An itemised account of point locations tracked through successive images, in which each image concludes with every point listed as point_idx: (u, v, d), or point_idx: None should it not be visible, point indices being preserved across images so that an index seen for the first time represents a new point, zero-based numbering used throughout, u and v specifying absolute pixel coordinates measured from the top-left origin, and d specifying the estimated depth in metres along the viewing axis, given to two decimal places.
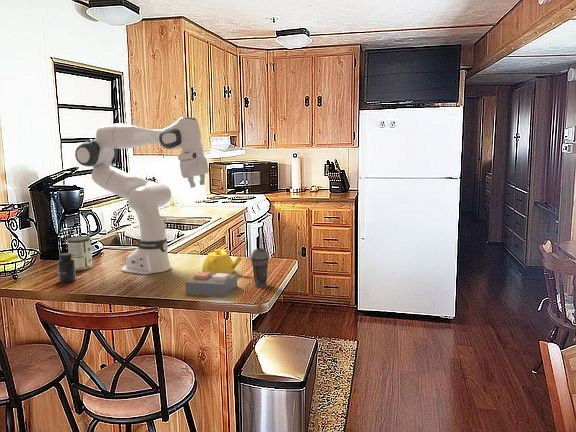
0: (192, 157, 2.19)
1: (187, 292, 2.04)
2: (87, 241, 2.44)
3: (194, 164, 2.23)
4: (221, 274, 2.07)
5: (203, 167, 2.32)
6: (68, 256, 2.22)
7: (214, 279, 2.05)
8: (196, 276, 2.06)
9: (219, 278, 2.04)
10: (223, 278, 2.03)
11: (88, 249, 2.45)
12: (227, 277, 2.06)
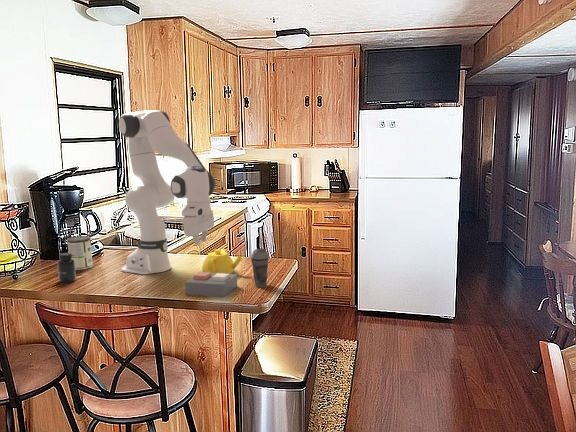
0: (197, 214, 1.96)
1: (187, 292, 2.04)
2: (87, 241, 2.44)
3: (199, 220, 2.01)
4: (221, 274, 2.07)
5: (209, 222, 2.09)
6: (68, 256, 2.22)
7: (214, 279, 2.05)
8: (196, 276, 2.06)
9: (219, 278, 2.04)
10: (223, 278, 2.03)
11: (88, 249, 2.45)
12: (227, 277, 2.06)
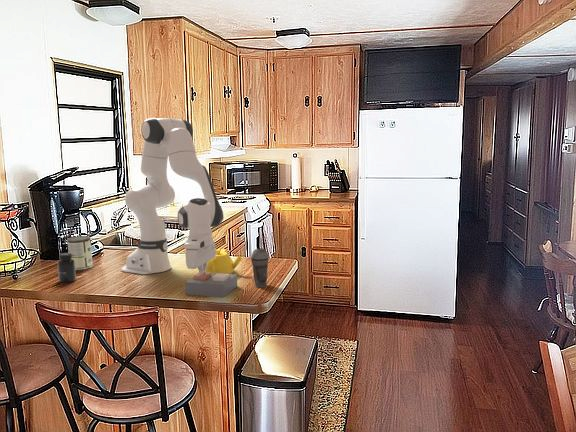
0: (200, 247, 1.98)
1: (187, 292, 2.04)
2: (87, 241, 2.44)
3: (201, 252, 2.03)
4: (221, 274, 2.07)
5: (210, 253, 2.11)
6: (68, 256, 2.22)
7: (214, 279, 2.05)
8: (196, 276, 2.06)
9: (219, 278, 2.04)
10: (223, 278, 2.03)
11: (88, 249, 2.45)
12: (227, 277, 2.06)
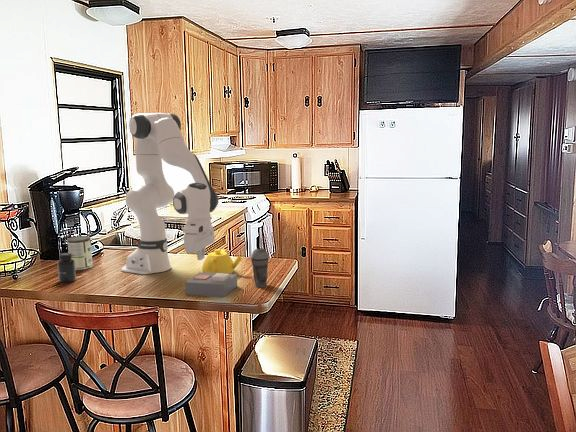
0: (198, 232, 1.97)
1: (187, 292, 2.04)
2: (87, 241, 2.44)
3: (199, 237, 2.02)
4: (221, 274, 2.07)
5: (209, 238, 2.10)
6: (68, 256, 2.22)
7: (214, 279, 2.05)
8: (196, 279, 2.07)
9: (219, 278, 2.04)
10: (223, 278, 2.03)
11: (88, 249, 2.45)
12: (227, 277, 2.06)
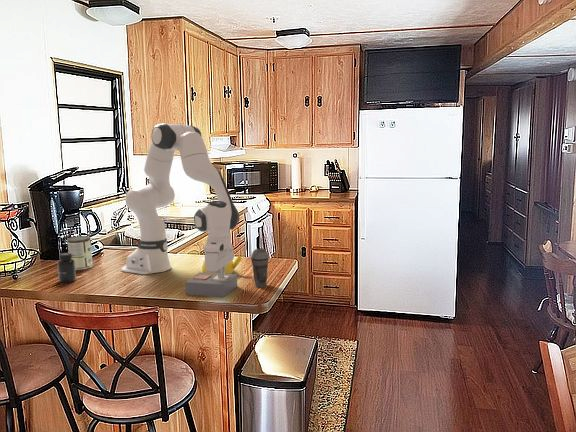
0: (219, 250, 1.96)
1: (187, 292, 2.04)
2: (87, 241, 2.44)
3: (220, 255, 2.01)
4: None
5: (229, 256, 2.09)
6: (68, 256, 2.22)
7: None
8: (196, 279, 2.07)
9: (219, 280, 2.04)
10: (223, 280, 2.04)
11: (88, 249, 2.45)
12: (227, 279, 2.07)
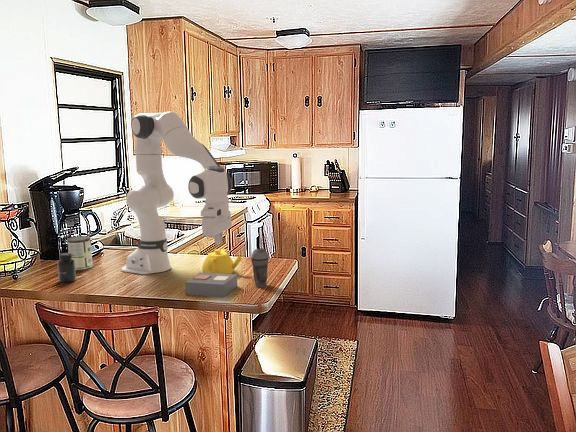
0: (216, 215, 1.94)
1: (187, 292, 2.04)
2: (87, 241, 2.44)
3: (217, 221, 1.99)
4: (221, 277, 2.07)
5: (227, 222, 2.08)
6: (68, 256, 2.22)
7: None
8: (196, 279, 2.07)
9: None
10: None
11: (88, 249, 2.45)
12: None
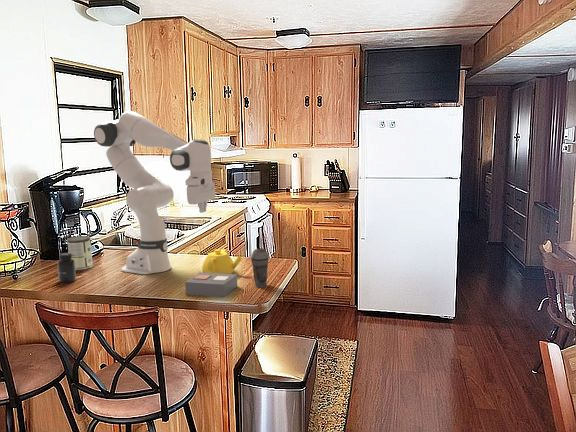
0: (200, 184, 2.09)
1: (187, 292, 2.04)
2: (87, 241, 2.44)
3: (201, 190, 2.14)
4: (221, 277, 2.07)
5: (210, 193, 2.22)
6: (68, 256, 2.22)
7: None
8: (196, 279, 2.07)
9: None
10: None
11: (88, 249, 2.45)
12: None
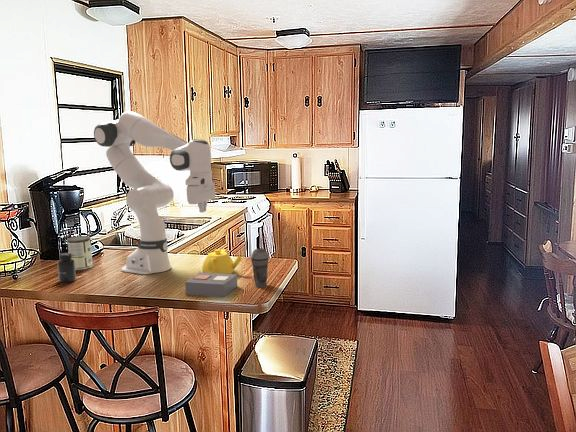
0: (200, 183, 2.09)
1: (187, 292, 2.04)
2: (87, 241, 2.44)
3: (201, 190, 2.14)
4: (221, 277, 2.07)
5: (210, 192, 2.22)
6: (68, 256, 2.22)
7: None
8: (196, 279, 2.07)
9: None
10: None
11: (88, 249, 2.45)
12: None
